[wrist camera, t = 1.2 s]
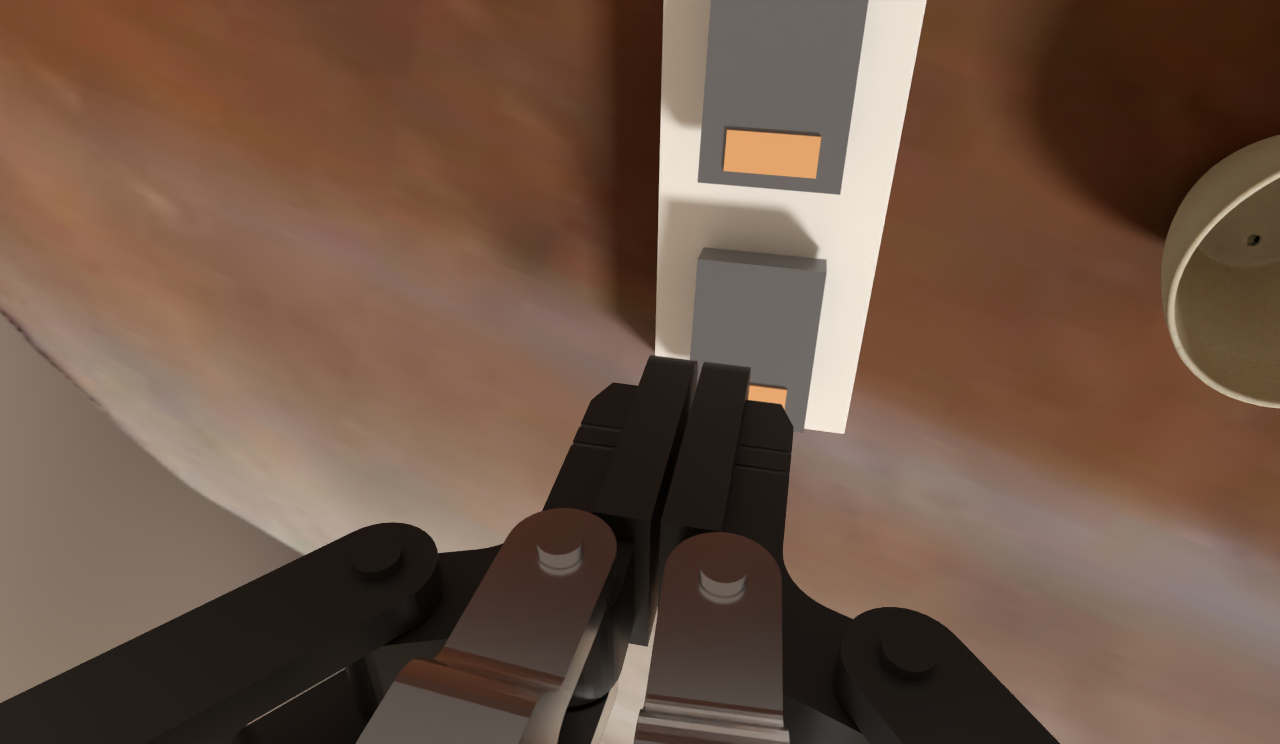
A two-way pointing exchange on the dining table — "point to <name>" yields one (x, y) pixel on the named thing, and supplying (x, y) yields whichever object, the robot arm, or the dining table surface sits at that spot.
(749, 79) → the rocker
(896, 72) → the power strip
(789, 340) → the block
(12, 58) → the dining table surface
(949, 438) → the dining table surface
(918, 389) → the dining table surface
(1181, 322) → the flower pot
